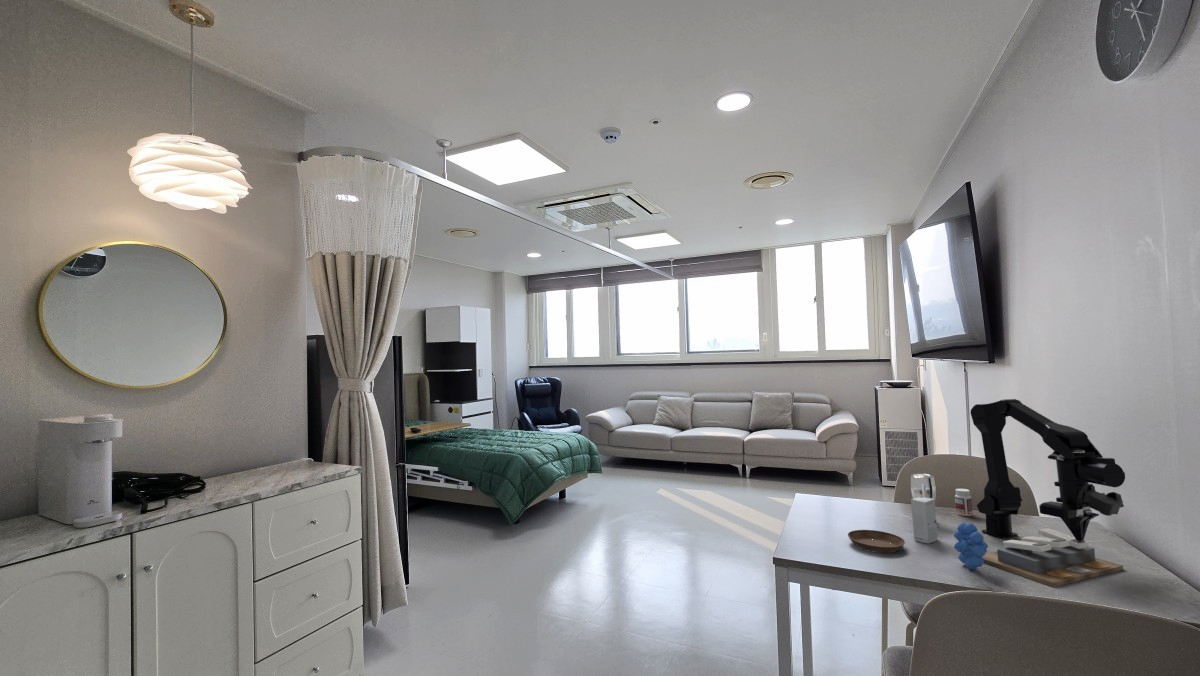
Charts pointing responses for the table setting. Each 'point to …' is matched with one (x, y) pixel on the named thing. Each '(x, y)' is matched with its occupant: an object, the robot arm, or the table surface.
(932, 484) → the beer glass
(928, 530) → the skincare box
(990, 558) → the switch panel
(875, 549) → the saucer
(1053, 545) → the rocker middle
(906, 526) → the table surface
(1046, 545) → the rocker
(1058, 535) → the rocker
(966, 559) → the grapes
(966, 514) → the pill bottle
